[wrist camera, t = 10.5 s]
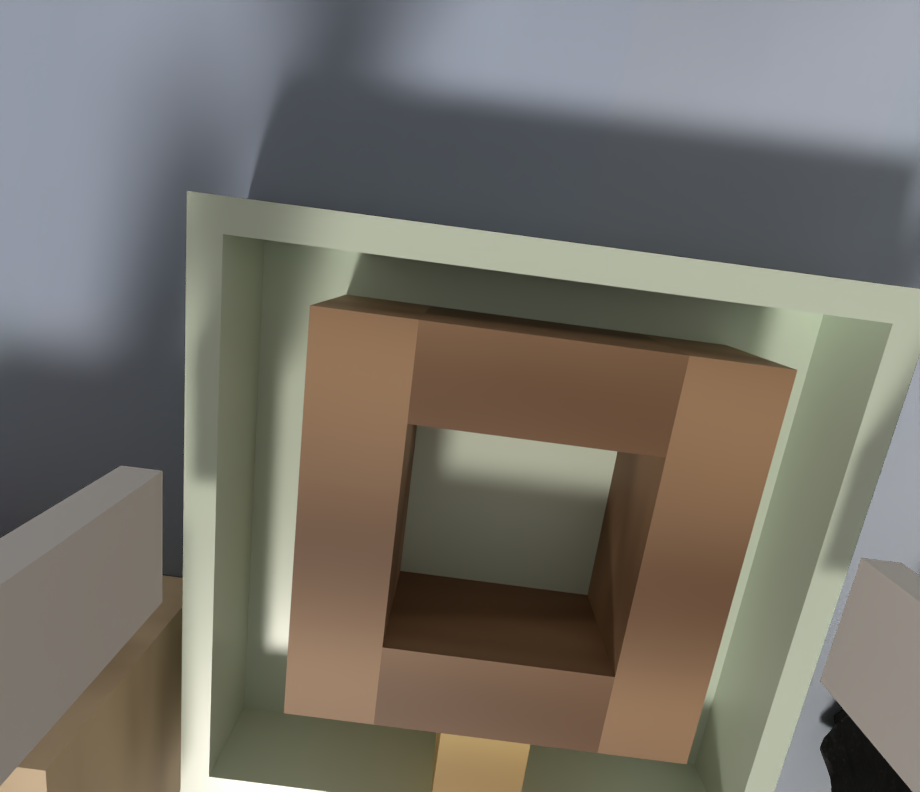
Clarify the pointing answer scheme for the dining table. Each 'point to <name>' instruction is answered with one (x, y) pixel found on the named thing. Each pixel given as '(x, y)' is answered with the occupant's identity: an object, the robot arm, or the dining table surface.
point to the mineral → (857, 761)
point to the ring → (507, 606)
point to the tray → (504, 480)
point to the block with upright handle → (120, 718)
